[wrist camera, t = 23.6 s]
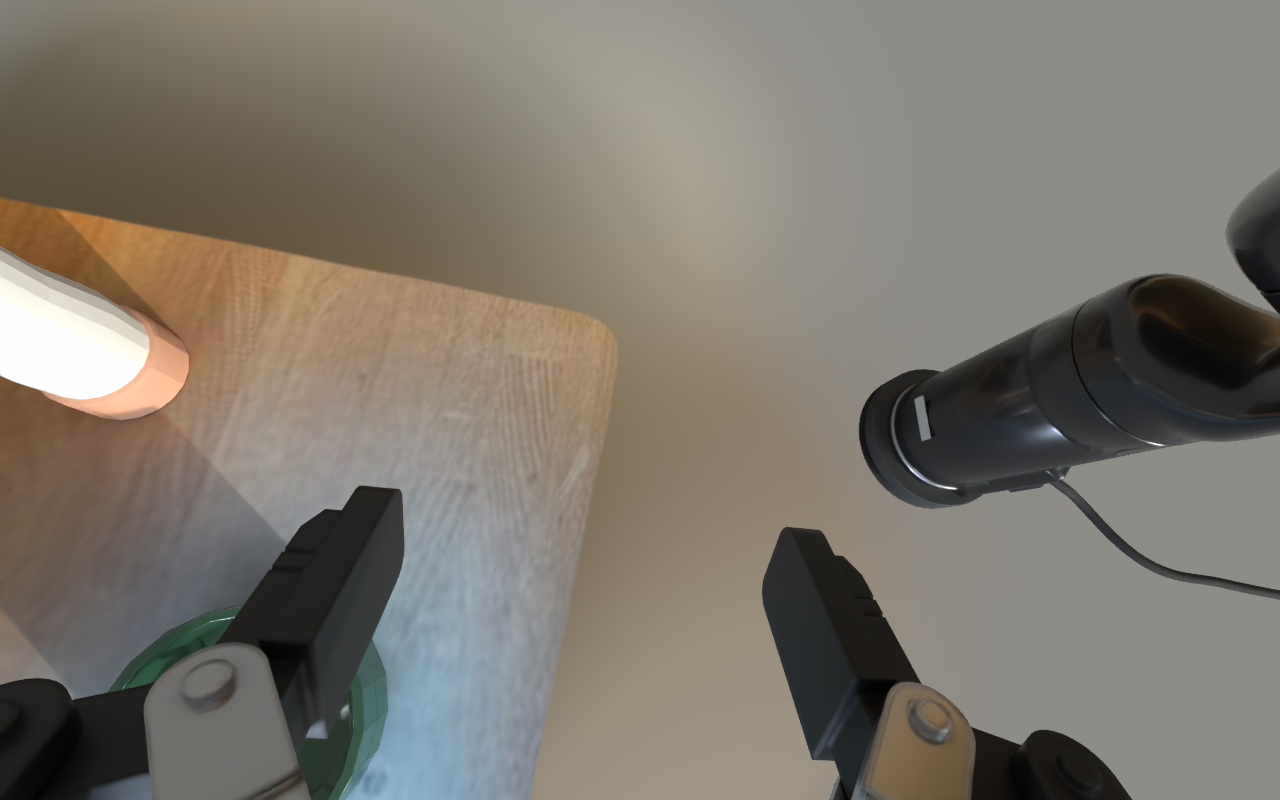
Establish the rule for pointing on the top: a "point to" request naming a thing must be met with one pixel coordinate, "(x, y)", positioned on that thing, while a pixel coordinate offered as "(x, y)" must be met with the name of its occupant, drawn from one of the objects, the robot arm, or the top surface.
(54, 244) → the top surface
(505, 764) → the top surface
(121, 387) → the salt shaker
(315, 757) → the green bowl
